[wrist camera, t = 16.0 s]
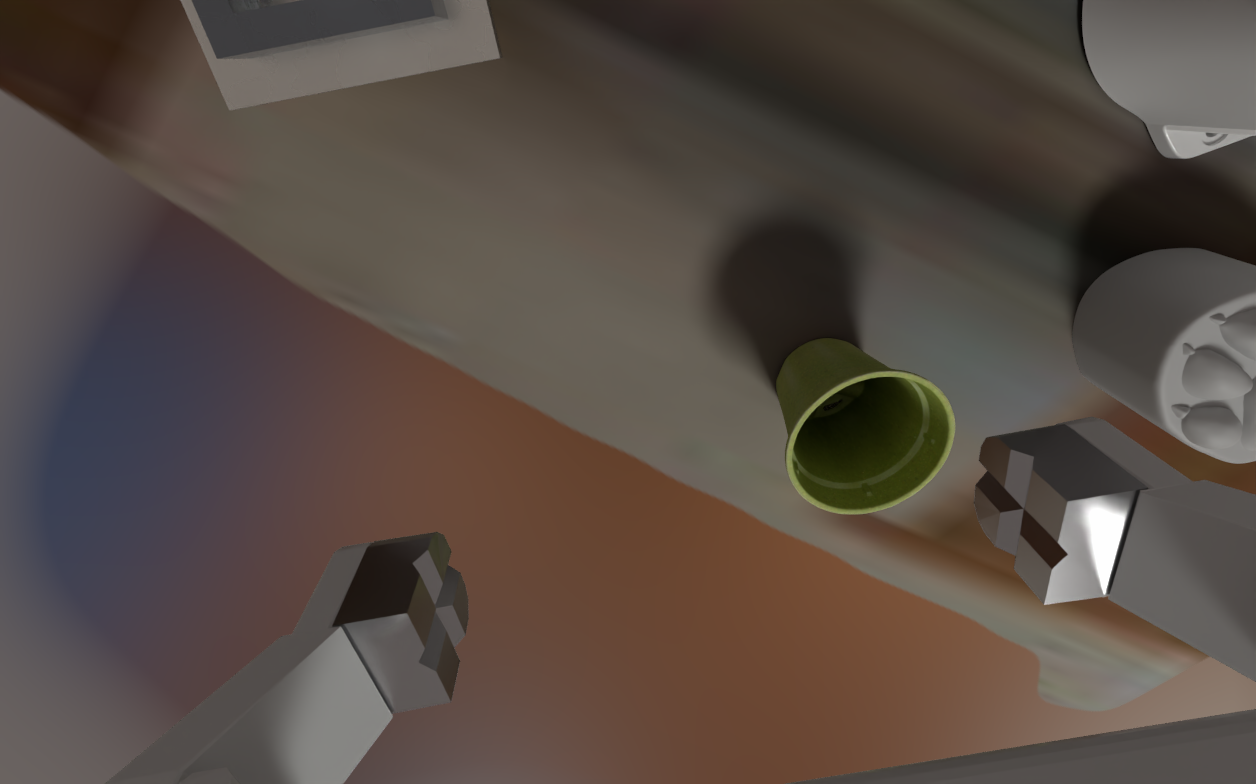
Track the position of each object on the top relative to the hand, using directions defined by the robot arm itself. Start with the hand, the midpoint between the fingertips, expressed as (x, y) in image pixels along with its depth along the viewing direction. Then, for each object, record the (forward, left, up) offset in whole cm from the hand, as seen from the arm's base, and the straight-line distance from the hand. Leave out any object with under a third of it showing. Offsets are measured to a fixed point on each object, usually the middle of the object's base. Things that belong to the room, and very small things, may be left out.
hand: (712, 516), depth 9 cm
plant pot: (-11, +15, -29) cm, 35 cm away
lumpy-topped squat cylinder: (-34, +16, -29) cm, 48 cm away
